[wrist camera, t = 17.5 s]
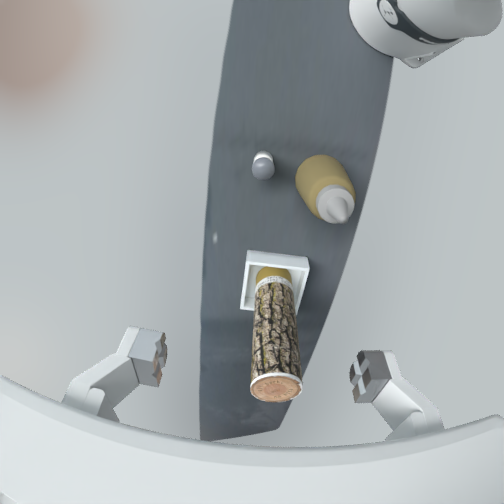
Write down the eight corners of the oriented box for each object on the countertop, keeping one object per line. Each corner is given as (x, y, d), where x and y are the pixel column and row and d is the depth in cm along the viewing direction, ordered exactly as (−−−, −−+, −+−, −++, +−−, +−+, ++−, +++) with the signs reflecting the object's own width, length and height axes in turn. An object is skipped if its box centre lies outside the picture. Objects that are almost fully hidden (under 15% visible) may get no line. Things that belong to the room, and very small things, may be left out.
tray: (247, 249, 55) (246, 261, 51) (307, 257, 55) (309, 268, 52) (241, 296, 60) (240, 308, 57) (295, 302, 61) (296, 314, 57)
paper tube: (248, 272, 56) (239, 385, 35) (280, 256, 54) (287, 369, 33) (267, 296, 59) (267, 406, 38) (297, 282, 57) (311, 393, 36)
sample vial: (267, 146, 45) (267, 154, 40) (276, 163, 46) (278, 173, 41) (249, 156, 46) (247, 165, 40) (259, 172, 47) (258, 183, 42)
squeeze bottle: (344, 190, 48) (380, 241, 32) (299, 201, 49) (315, 258, 34) (335, 144, 44) (372, 176, 28) (287, 156, 45) (299, 194, 30)
